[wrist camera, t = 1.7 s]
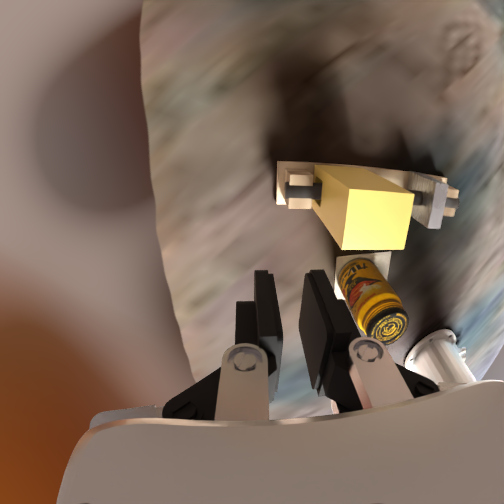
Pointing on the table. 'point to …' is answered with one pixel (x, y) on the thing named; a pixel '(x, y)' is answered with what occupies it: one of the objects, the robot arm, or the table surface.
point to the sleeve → (362, 208)
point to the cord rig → (305, 190)
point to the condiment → (371, 295)
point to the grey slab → (428, 199)
